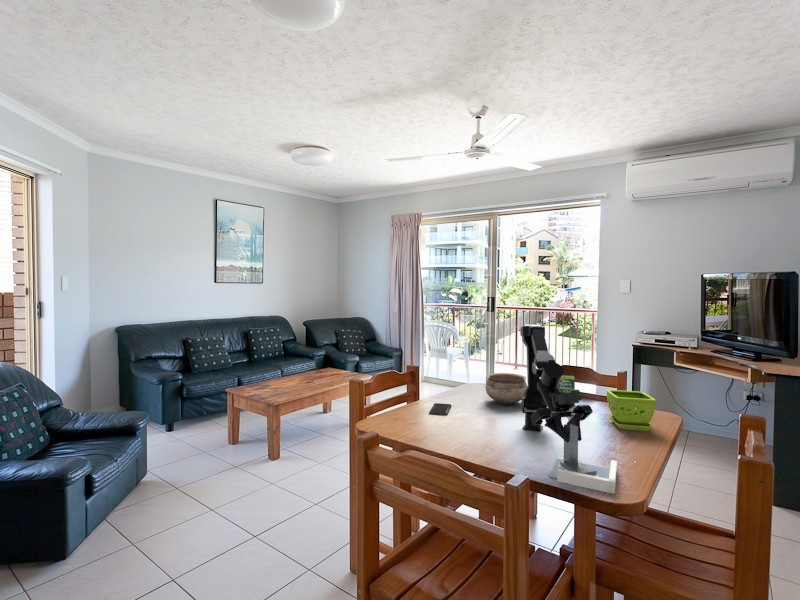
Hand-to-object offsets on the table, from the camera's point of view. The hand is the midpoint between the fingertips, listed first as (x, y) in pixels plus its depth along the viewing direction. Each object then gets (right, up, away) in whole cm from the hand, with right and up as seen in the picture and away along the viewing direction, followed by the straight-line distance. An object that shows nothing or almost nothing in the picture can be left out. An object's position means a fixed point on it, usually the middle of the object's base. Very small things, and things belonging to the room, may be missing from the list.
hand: (574, 441), depth 123 cm
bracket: (0, -8, -1) cm, 8 cm away
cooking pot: (-2, -7, +71) cm, 71 cm away
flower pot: (+37, -8, +39) cm, 55 cm away
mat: (+1, -9, -2) cm, 9 cm away
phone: (-33, -7, +60) cm, 69 cm away
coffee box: (+25, -7, +70) cm, 74 cm away
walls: (+2, -9, -4) cm, 10 cm away
